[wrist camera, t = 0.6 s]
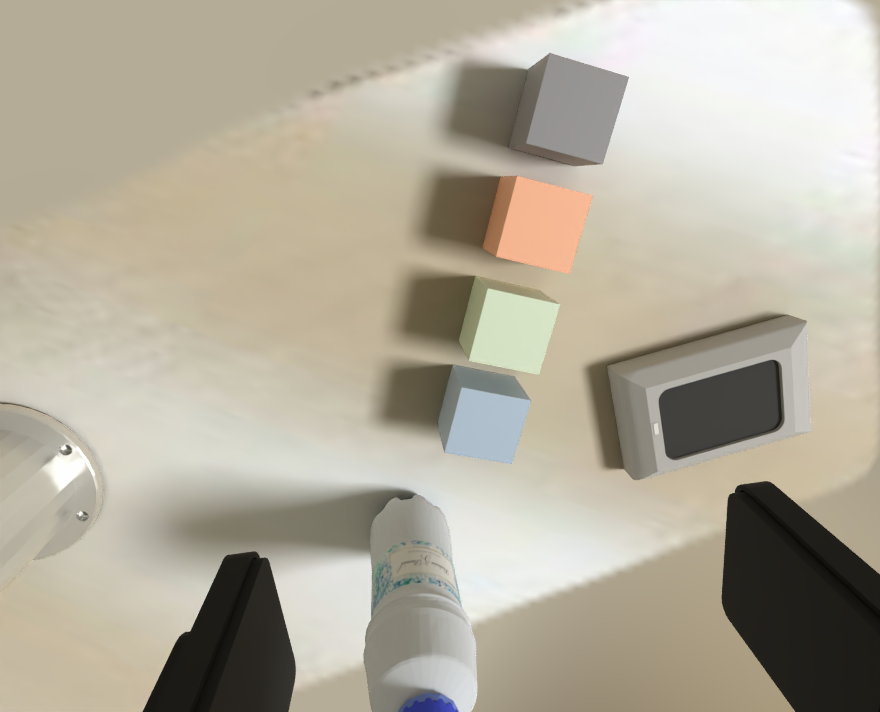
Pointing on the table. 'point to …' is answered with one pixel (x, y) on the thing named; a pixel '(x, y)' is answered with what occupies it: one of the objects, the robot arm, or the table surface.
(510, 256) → the terracotta block
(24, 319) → the table surface
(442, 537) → the bottle
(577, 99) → the gray block
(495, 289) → the sage-green block
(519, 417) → the slate-blue block
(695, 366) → the gray dark-screened device
